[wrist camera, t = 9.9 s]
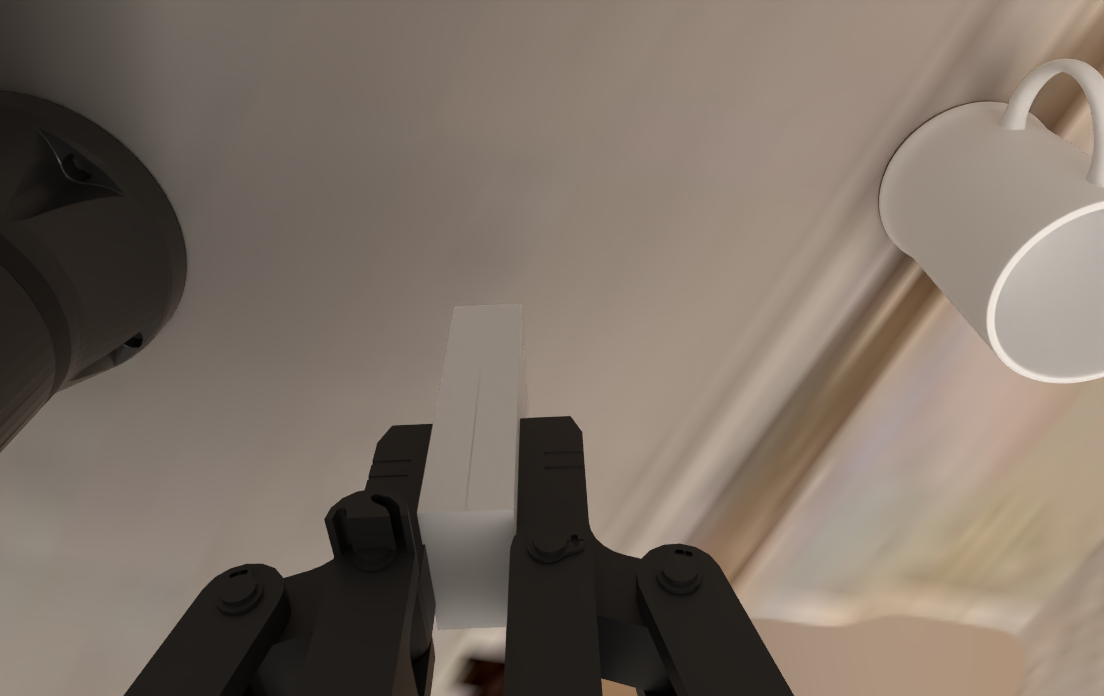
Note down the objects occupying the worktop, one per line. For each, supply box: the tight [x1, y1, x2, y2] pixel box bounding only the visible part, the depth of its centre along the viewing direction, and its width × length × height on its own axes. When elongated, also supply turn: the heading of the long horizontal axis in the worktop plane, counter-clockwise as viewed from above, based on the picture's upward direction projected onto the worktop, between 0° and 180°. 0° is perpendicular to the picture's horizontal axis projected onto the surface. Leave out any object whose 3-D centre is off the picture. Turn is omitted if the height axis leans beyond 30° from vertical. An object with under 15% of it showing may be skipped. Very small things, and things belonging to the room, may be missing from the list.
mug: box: [879, 59, 1104, 383], centre depth 35 cm, size 12×8×12 cm
